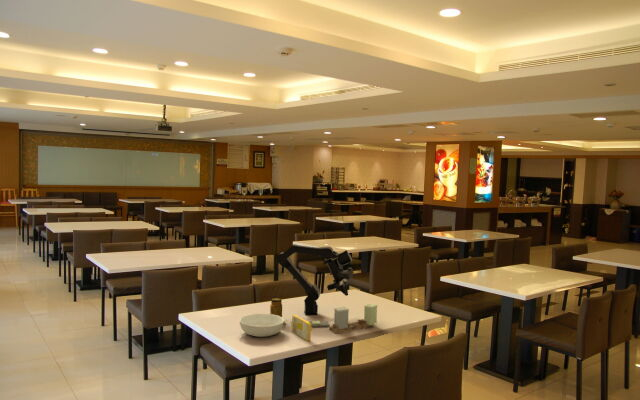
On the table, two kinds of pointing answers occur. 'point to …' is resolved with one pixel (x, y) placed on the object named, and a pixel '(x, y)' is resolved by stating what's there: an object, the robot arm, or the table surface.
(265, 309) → the table surface
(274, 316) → the serving bowl
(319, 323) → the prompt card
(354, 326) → the brown holder tray
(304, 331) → the candy box
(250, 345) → the table surface
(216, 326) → the table surface
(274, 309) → the condiment
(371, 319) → the sage key
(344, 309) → the slate key
